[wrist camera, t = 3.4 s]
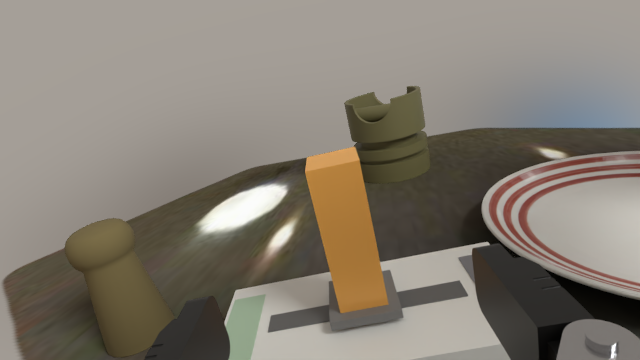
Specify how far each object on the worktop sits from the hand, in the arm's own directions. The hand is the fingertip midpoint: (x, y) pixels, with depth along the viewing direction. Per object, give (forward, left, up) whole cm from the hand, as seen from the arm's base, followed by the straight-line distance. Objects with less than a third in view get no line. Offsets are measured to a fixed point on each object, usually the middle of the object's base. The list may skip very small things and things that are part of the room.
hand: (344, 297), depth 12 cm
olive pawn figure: (-4, -28, -13) cm, 31 cm away
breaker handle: (-10, -6, -9) cm, 14 cm away
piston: (-45, -21, -13) cm, 51 cm away
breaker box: (-10, -6, -13) cm, 17 cm away
